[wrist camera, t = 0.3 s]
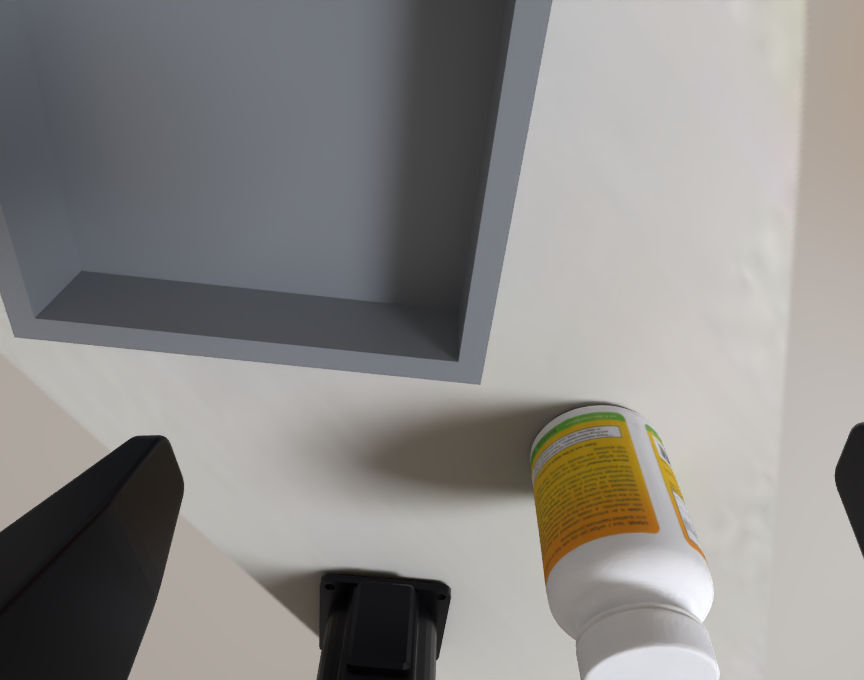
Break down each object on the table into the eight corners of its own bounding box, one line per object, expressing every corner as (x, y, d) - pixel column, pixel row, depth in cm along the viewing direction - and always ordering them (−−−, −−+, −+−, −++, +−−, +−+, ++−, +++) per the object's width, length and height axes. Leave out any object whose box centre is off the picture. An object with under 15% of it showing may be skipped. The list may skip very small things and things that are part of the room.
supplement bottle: (505, 470, 28) (524, 702, 20) (572, 381, 25) (625, 611, 17) (611, 508, 29) (669, 742, 21) (687, 428, 26) (787, 663, 18)
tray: (477, 322, 24) (480, 384, 21) (71, 279, 23) (14, 337, 20) (566, -192, 15) (591, -212, 12) (-65, -276, 15) (-196, -316, 12)
